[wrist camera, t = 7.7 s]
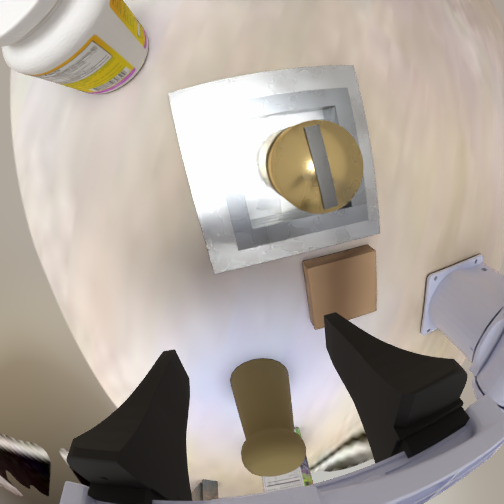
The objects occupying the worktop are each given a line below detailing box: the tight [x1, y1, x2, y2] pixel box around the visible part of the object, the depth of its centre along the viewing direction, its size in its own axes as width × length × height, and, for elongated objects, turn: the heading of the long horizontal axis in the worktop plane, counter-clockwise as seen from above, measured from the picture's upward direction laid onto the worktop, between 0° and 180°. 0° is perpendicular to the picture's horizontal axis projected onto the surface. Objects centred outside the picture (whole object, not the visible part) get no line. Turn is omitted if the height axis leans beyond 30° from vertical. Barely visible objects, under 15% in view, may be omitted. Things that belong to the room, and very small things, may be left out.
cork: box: [230, 358, 306, 477], centre depth 22 cm, size 6×6×11 cm
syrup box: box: [262, 428, 313, 493], centre depth 25 cm, size 6×6×14 cm
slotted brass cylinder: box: [258, 120, 364, 214], centre depth 17 cm, size 5×5×6 cm
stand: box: [302, 245, 377, 330], centre depth 23 cm, size 6×6×2 cm
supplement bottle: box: [0, 0, 148, 94], centre depth 10 cm, size 7×7×13 cm
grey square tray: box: [168, 65, 380, 274], centre depth 19 cm, size 14×14×3 cm
